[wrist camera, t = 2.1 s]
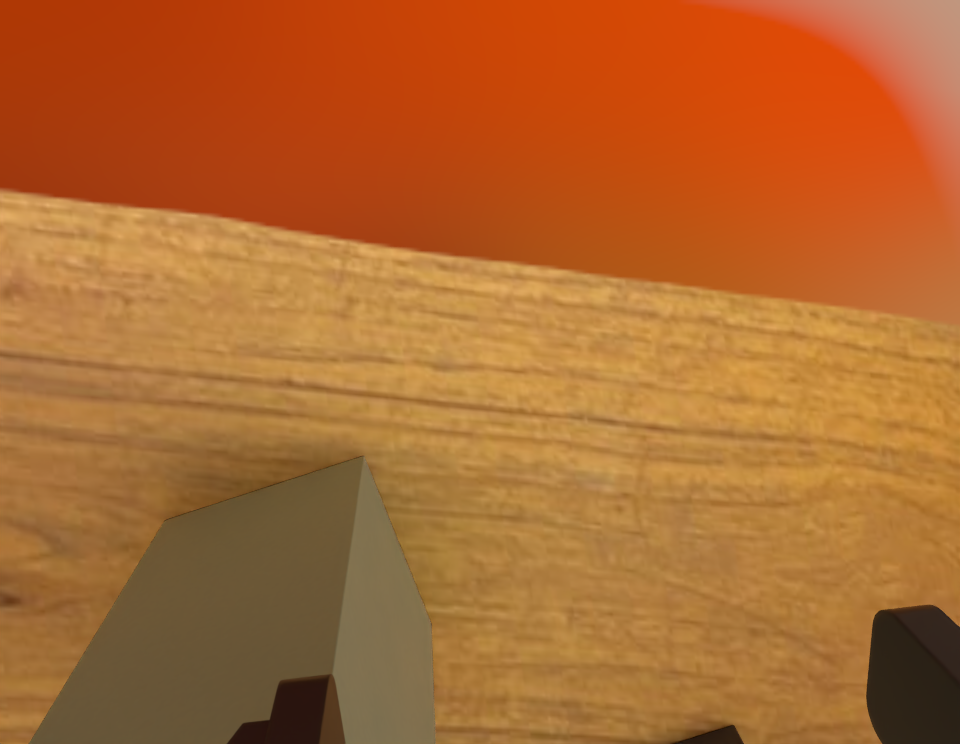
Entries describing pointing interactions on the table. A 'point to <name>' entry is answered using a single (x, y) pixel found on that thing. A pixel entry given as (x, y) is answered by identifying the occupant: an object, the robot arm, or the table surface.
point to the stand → (717, 737)
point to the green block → (259, 623)
